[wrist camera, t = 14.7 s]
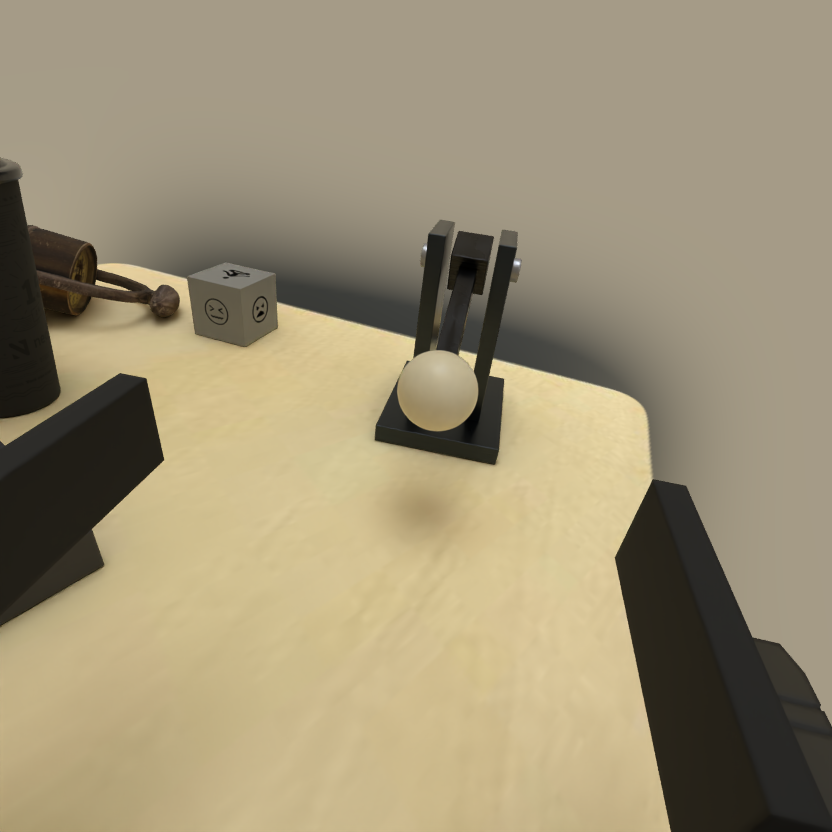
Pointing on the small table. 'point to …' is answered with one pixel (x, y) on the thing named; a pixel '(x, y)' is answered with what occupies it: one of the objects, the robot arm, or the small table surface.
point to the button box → (59, 574)
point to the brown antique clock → (86, 277)
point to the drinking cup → (21, 310)
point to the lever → (448, 347)
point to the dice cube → (233, 303)
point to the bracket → (484, 423)
